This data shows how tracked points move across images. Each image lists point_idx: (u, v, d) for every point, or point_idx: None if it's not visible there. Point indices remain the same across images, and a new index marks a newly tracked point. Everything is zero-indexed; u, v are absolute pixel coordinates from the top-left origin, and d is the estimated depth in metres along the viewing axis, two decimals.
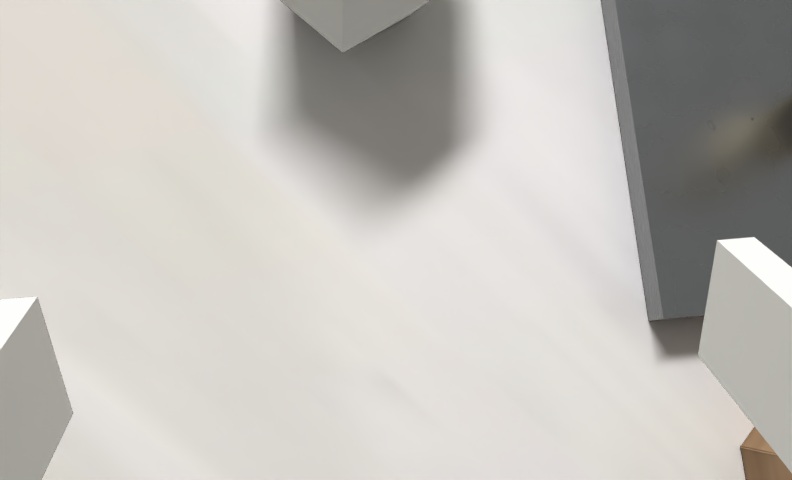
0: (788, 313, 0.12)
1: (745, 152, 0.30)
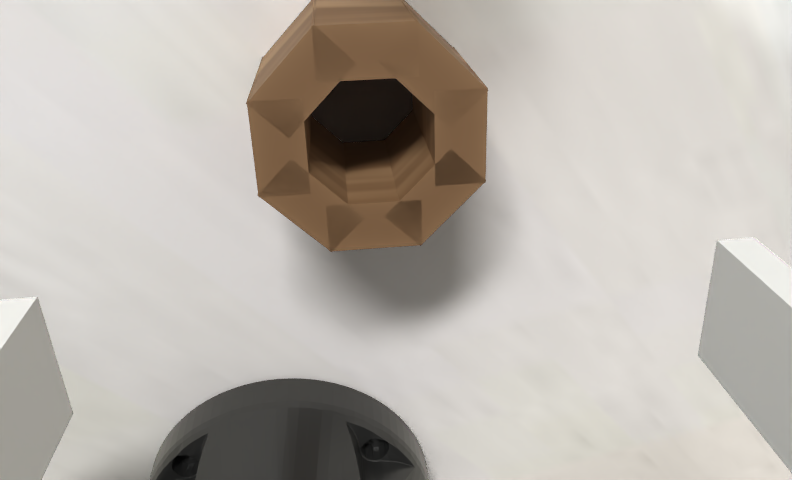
0: (788, 313, 0.12)
1: None
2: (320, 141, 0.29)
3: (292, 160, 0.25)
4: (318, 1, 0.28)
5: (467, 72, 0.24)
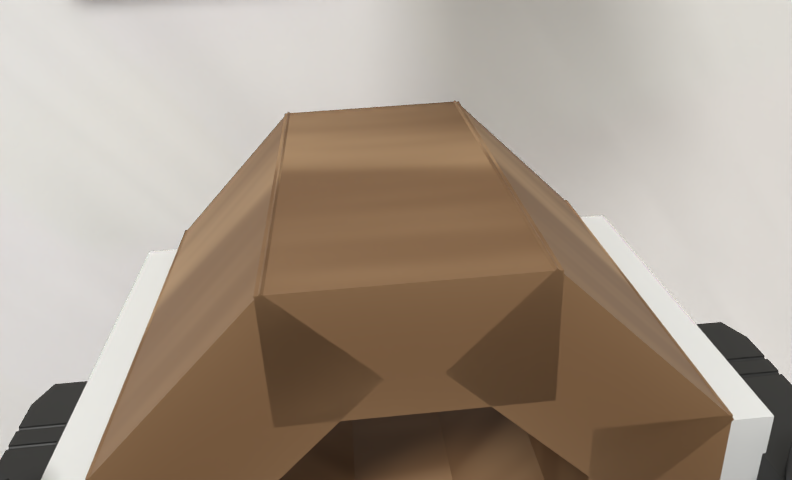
0: None
1: None
2: None
3: None
4: (291, 137, 0.13)
5: (686, 385, 0.09)
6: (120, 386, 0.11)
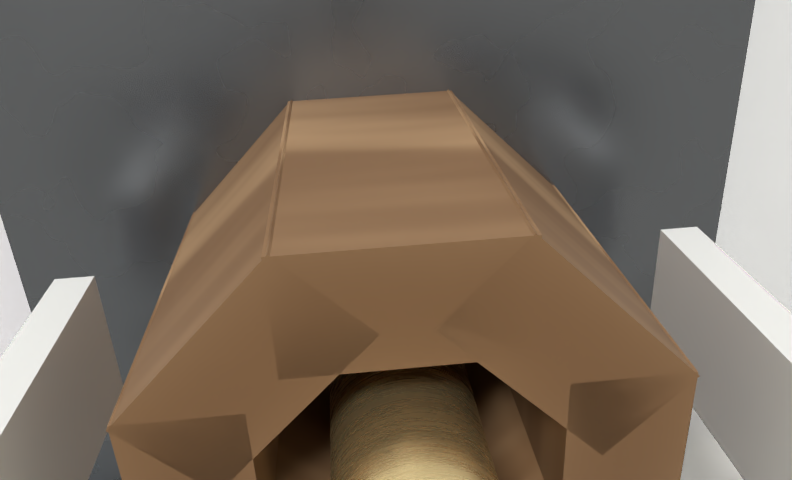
0: (719, 298, 0.12)
1: None
2: None
3: None
4: (294, 122, 0.14)
5: (655, 343, 0.10)
6: None
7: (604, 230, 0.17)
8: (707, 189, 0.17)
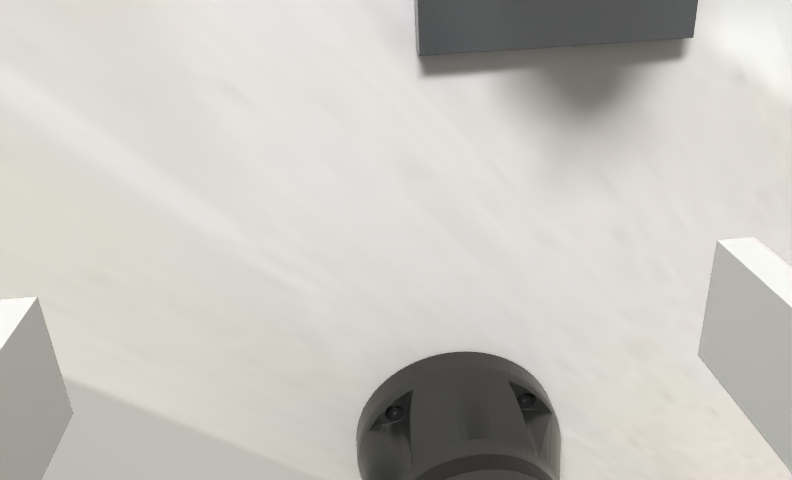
0: (788, 313, 0.12)
1: None
2: None
3: None
4: None
5: None
6: None
7: None
8: None
